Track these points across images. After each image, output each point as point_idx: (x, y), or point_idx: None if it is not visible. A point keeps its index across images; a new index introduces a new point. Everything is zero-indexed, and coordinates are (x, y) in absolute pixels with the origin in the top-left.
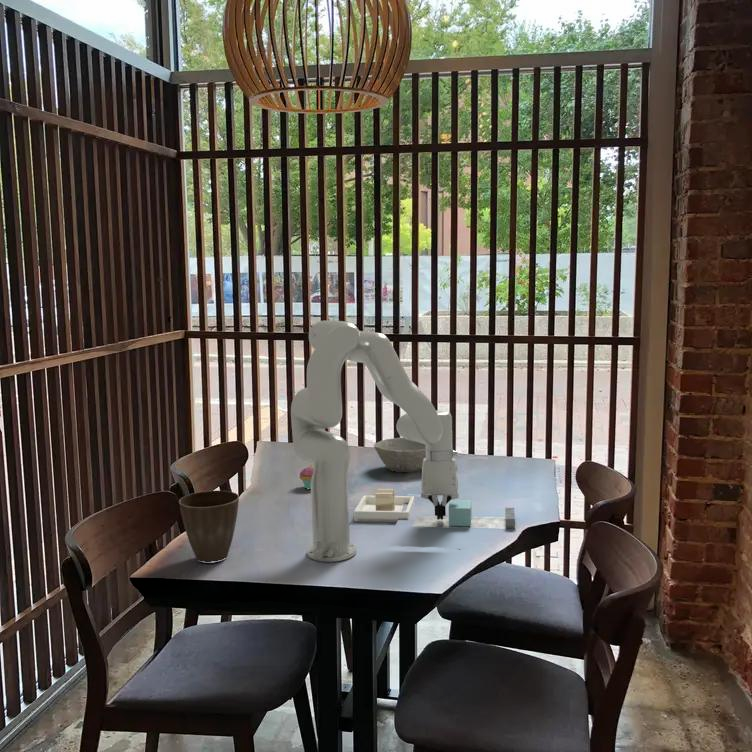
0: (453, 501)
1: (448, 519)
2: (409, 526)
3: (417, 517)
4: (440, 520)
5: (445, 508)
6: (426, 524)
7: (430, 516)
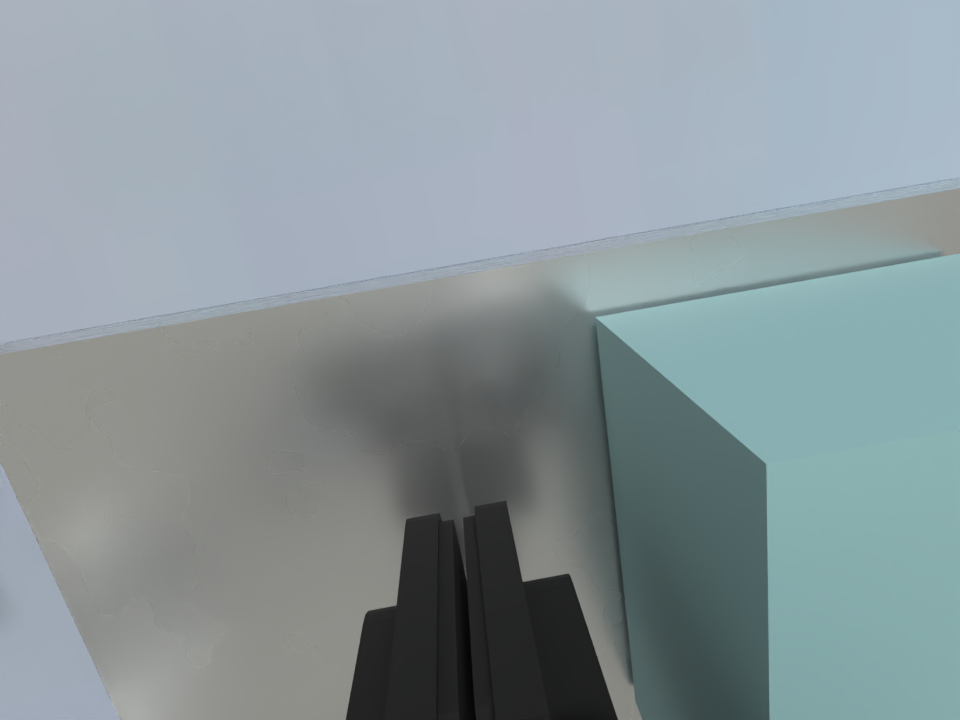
0: (884, 624)
1: (576, 438)
2: (66, 642)
3: (31, 469)
4: (461, 514)
5: (599, 674)
6: (311, 711)
7: (231, 367)
